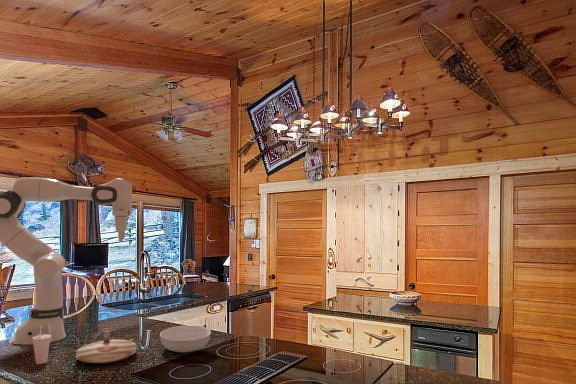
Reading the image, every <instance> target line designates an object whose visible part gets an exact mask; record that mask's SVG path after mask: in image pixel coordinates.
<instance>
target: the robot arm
mask: <svg viewBox="0 0 576 384" xmlns="http://www.w3.org/2000/svg"><path fill="white" fill-rule="evenodd" d="M132 186H133V185H132V182H130V180H128V179H125V178H120V177H115V178H114V179H112V180H110V181H108V182H106V183H103V184H98V185H97V186H93V187H89V186H78V185H77V186H76V185H72V184H69V183H66V182H64V181H61V180H57V179H55V178H47V177H39V176H38V177H36V176H35V177H34V176H32V177H27V176H26V177H20V178H18V179H16V180H15V181H14V183H13V187H12V190H6V191H4V192H1V193H0V243H1V244H2V245H3V246H4V247H6V248H7V249H8V250H9V251H10V252H11V253H13V254H14V255H16V256H17V257H18V258H19V259H21V260H23V261H25V262H27V264H30V265H31V266H33V277H34V278H33V279H34V287H35V288H34V289H35V307H32V308H30V309H29V318H27V319H26V320H25V321H24V322H22V323H21V324H20V325H19V326H18V327H17V328H16V329H15V333H14V336H13V337H11V338H10V339H9V340H8V344H9V343H10V344H9V345H11V342H14V344H15V343H16V344H18V343H19V344H22V345H33V341H32V338H33V337H34V336H37V335H40V325H41V335H42V334H49V335H51V339H50V344H51V343H54V342H58V341H61V340H64V339H65V338H66V337H67V335H66V332H65V325H64V316H65V308H64V305H63V303H64V289H63V277H62V274H63V270H64V269H65V266H66V261H65V258H64V256H63V255H61V254H60V253H59V252H57V251H56V250H55V249H53V248H52V247H51V246H50V245H48V244H47V243H45V242H43V241H42V240H41V239H39V238H38V237H37V236H36V235H35V234H33V233H32V232H31V231H30V230H28V228H26V226H24V225H23V224H21V222H20V221H19V220H18V219H20V217H21V215H22V213H23V212H24V210H25V207H26V203H27V202H41V203H50V202H51V203H52V202H60V201H65V200H84V201H92V202H94V203H95V204H97V205H101V206H108V205H110V204H111V205H112V207H111V209H112V210H111V212H112V213H111V214H112V216H113V217H114V225H115V231H116V233H117V236H118V242H124V241H123V240H124V239H125V234H126V231H127V229H128V219H130V216H132V215H133V214H132V213H133V211H132V210H133V205H132V204H133V203H132V198H133V187H132Z"/></svg>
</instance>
